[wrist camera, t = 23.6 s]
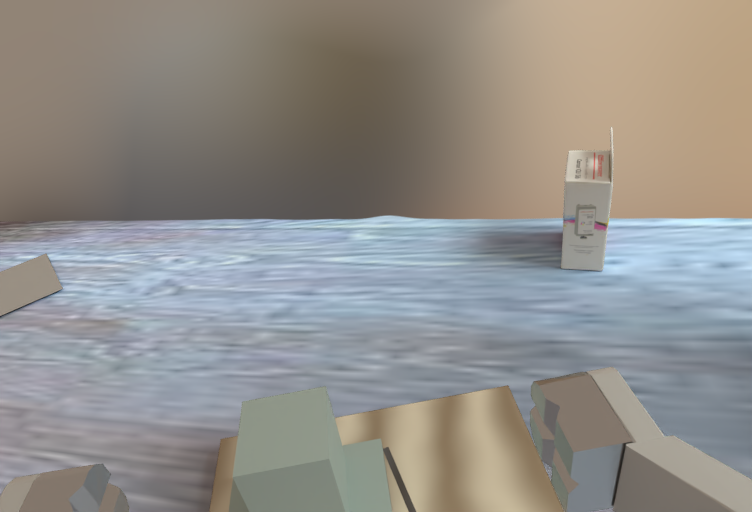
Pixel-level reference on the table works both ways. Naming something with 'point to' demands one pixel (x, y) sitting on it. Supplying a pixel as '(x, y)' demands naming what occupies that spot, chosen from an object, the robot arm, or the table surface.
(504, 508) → the birch board
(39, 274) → the paper stack
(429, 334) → the table surface
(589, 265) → the ink cartridge box
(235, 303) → the table surface
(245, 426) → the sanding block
